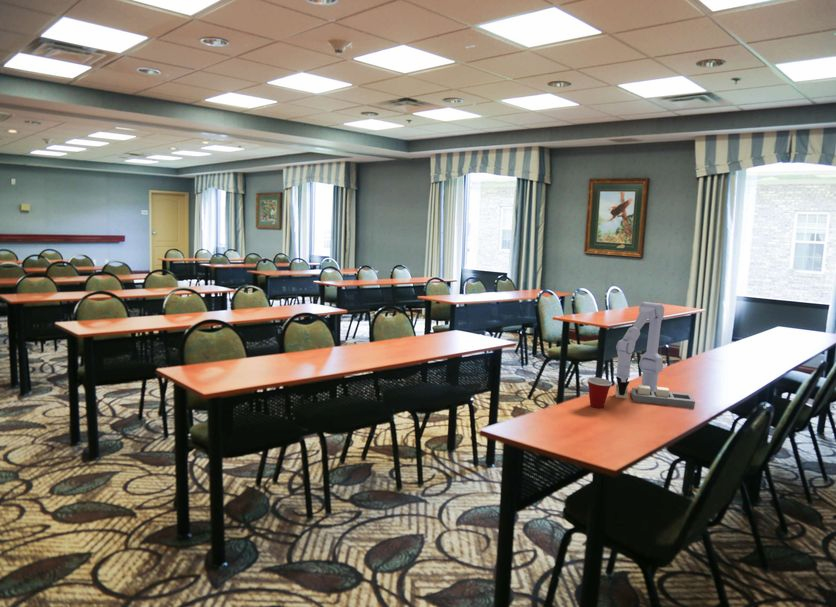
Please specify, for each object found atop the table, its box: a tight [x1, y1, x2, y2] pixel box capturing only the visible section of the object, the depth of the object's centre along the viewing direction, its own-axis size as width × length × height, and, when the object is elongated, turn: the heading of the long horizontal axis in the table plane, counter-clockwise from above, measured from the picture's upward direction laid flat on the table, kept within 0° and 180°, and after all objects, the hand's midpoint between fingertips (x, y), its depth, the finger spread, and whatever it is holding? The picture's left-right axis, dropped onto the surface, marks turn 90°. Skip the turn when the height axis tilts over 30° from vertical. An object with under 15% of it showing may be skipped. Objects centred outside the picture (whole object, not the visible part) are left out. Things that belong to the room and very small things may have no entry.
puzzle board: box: [630, 384, 696, 409], centre depth 280 cm, size 13×26×6 cm, turn 74°
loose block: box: [614, 383, 629, 399], centre depth 285 cm, size 5×5×5 cm
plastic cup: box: [586, 376, 613, 409], centre depth 267 cm, size 11×11×12 cm
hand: (621, 393), depth 285 cm, fingers closed on loose block, 5 cm apart
